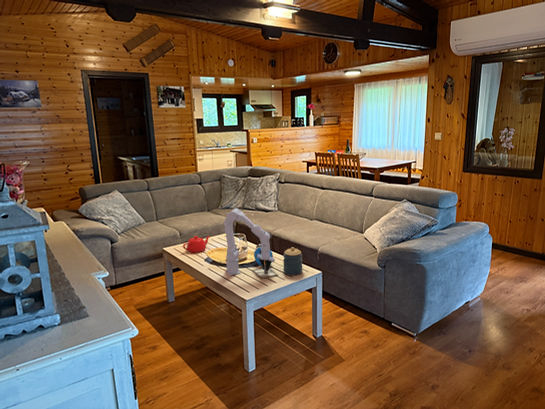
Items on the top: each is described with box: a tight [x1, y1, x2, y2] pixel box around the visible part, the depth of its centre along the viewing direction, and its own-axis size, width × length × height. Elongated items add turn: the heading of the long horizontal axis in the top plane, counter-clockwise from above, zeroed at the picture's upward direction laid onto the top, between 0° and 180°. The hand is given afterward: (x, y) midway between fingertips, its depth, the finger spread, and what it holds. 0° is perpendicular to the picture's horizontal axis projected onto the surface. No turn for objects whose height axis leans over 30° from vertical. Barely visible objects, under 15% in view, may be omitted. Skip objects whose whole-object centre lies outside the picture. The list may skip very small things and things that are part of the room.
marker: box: [264, 260, 268, 274], centre depth 244 cm, size 3×3×9 cm
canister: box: [282, 246, 303, 276], centre depth 246 cm, size 13×13×18 cm
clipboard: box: [251, 267, 279, 280], centre depth 247 cm, size 16×12×1 cm
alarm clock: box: [253, 243, 274, 267], centre depth 261 cm, size 13×6×15 cm, turn 52°
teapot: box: [182, 235, 211, 254], centre depth 296 cm, size 25×16×12 cm, turn 132°
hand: (266, 269), depth 244 cm, fingers closed on marker, 3 cm apart
